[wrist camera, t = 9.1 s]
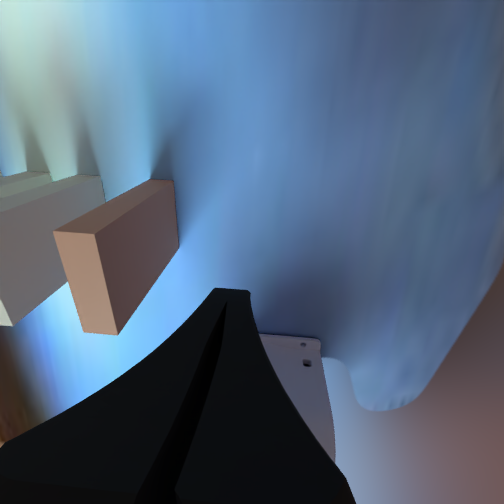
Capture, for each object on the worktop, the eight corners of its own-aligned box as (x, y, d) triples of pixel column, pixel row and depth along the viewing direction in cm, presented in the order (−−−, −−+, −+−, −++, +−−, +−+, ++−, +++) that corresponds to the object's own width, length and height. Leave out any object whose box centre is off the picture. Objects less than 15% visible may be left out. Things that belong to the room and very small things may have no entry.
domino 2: (100, 176, 18) (-34, 224, 10) (114, 243, 21) (13, 326, 13) (77, 174, 18) (-74, 221, 10) (93, 241, 21) (-21, 323, 13)
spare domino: (173, 180, 18) (94, 234, 10) (178, 248, 20) (117, 335, 12) (149, 179, 18) (52, 231, 10) (158, 246, 20) (83, 332, 12)
